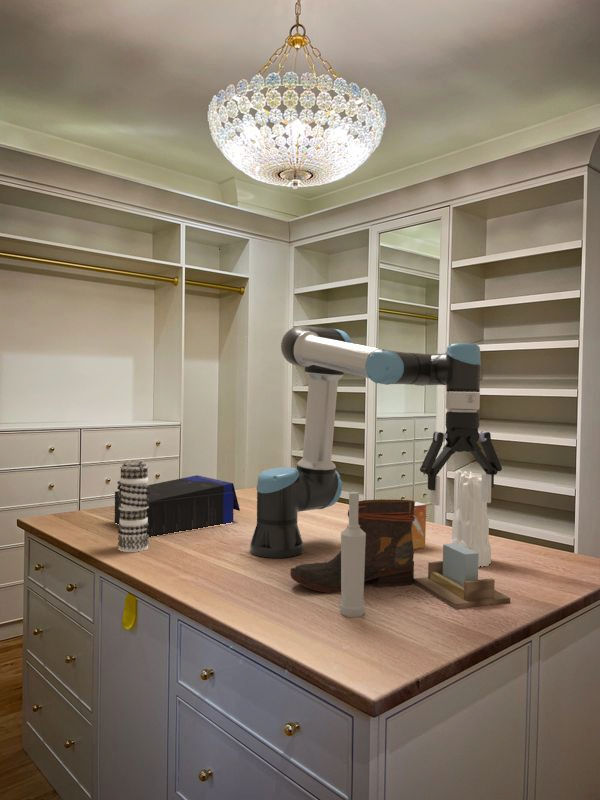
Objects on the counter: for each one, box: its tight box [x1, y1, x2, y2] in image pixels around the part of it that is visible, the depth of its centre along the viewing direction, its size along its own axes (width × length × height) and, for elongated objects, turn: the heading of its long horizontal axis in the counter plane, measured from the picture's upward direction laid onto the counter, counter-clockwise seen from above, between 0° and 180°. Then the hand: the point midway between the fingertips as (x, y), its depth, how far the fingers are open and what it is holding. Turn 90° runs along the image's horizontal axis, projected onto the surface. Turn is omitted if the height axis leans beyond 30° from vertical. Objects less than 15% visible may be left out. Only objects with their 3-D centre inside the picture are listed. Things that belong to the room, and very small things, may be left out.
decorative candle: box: [117, 460, 150, 553], centre depth 171 cm, size 9×9×25 cm
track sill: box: [413, 560, 511, 610], centre depth 137 cm, size 14×18×5 cm
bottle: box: [339, 491, 366, 618], centre depth 123 cm, size 5×5×25 cm
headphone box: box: [114, 474, 241, 538], centre depth 204 cm, size 25×35×14 cm
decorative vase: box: [449, 469, 492, 568], centre depth 162 cm, size 11×11×25 cm
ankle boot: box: [290, 499, 416, 594], centre depth 142 cm, size 11×31×20 cm, turn 104°
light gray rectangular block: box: [442, 543, 479, 587], centre depth 137 cm, size 4×9×9 cm, turn 18°
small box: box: [411, 501, 427, 550], centre depth 177 cm, size 8×6×13 cm
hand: (460, 503), depth 137 cm, fingers open, 13 cm apart
